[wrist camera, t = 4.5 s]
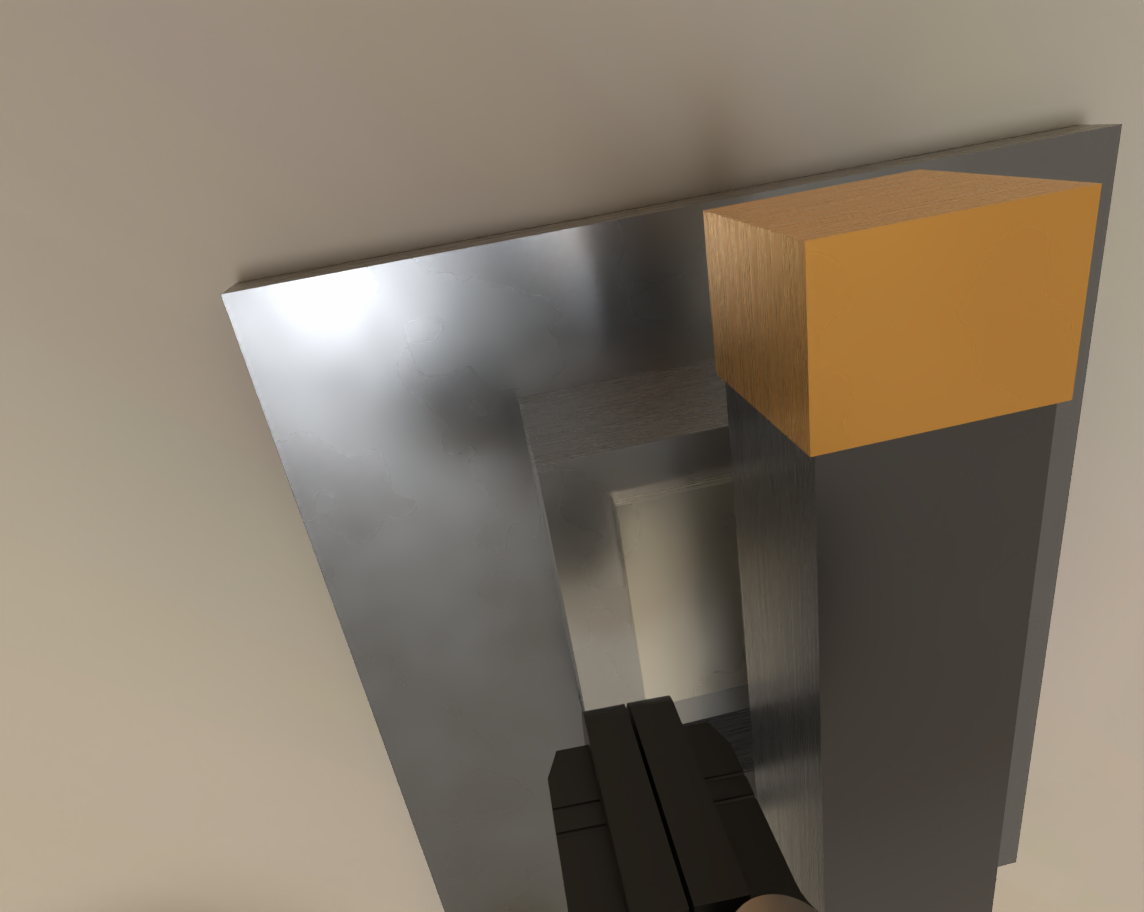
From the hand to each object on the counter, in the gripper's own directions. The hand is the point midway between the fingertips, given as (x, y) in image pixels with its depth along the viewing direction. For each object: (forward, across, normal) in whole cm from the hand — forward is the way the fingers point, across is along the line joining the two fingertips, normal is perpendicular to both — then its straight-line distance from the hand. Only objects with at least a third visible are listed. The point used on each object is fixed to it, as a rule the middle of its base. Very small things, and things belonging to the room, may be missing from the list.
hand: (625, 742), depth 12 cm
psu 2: (+7, -4, -1) cm, 8 cm away
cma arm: (+1, -4, +5) cm, 7 cm away
